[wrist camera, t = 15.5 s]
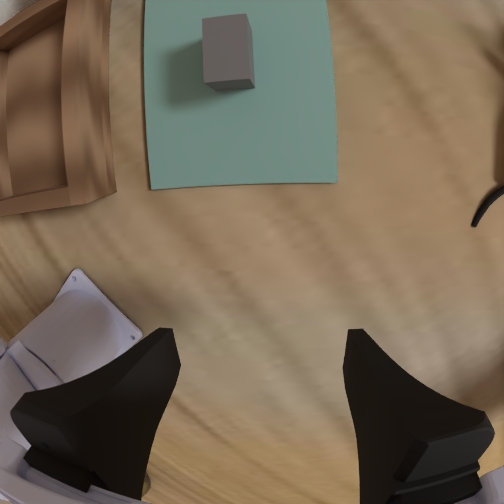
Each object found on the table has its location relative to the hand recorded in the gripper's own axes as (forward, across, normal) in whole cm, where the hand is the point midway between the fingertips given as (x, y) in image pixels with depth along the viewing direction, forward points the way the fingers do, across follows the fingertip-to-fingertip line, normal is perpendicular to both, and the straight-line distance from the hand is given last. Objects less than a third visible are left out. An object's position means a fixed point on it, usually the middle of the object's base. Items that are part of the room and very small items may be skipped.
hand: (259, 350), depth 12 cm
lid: (+10, +2, -13) cm, 17 cm away
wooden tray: (+9, +17, -17) cm, 26 cm away
